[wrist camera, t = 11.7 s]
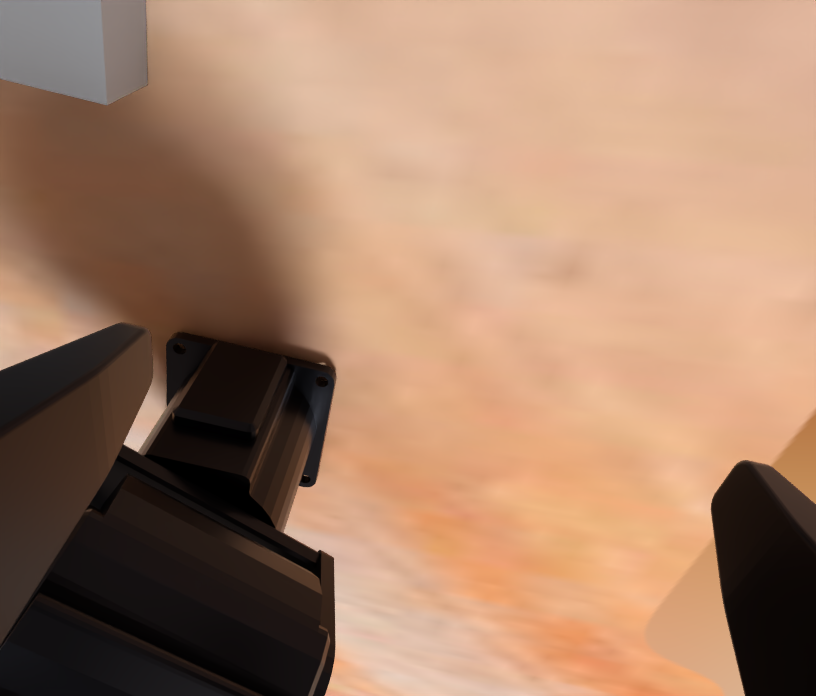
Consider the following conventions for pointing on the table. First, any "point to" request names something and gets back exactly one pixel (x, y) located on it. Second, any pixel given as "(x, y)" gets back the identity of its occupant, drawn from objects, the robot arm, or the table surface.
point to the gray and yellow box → (75, 46)
